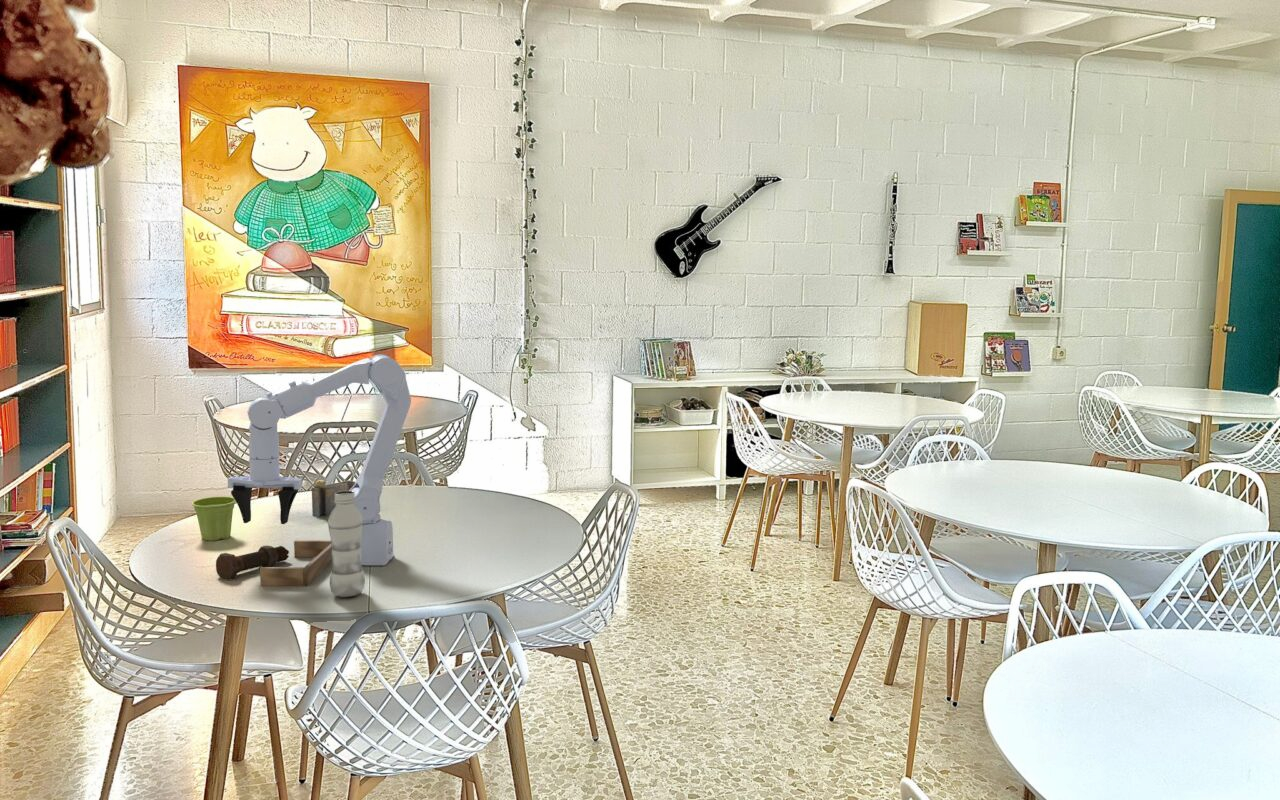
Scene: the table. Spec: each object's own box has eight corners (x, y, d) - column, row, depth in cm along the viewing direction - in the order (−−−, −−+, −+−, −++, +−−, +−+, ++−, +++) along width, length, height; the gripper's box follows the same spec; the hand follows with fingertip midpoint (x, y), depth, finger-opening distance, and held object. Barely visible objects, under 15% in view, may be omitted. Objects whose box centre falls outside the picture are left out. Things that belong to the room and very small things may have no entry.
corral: (338, 556, 217) (337, 540, 217) (307, 585, 197) (306, 568, 196) (295, 556, 217) (295, 540, 217) (260, 585, 197) (259, 568, 196)
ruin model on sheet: (319, 519, 251) (318, 481, 250) (312, 517, 253) (311, 479, 252) (357, 510, 260) (356, 474, 259) (350, 509, 262) (348, 472, 260)
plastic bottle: (369, 590, 194) (367, 489, 192) (358, 601, 188) (355, 496, 185) (337, 589, 195) (333, 488, 192) (324, 600, 188) (321, 496, 185)
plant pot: (228, 543, 227) (226, 505, 226) (186, 543, 227) (184, 505, 226) (244, 532, 236) (242, 496, 235) (204, 532, 236) (202, 496, 235)
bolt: (287, 570, 213) (226, 586, 200) (273, 555, 215) (212, 570, 202) (296, 549, 211) (235, 564, 198) (282, 534, 213) (220, 548, 200)
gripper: (220, 459, 200) (222, 526, 202) (292, 461, 200) (294, 528, 202) (235, 453, 207) (236, 518, 209) (305, 455, 207) (306, 519, 209)
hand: (265, 522), depth 206 cm, fingers open, 7 cm apart
